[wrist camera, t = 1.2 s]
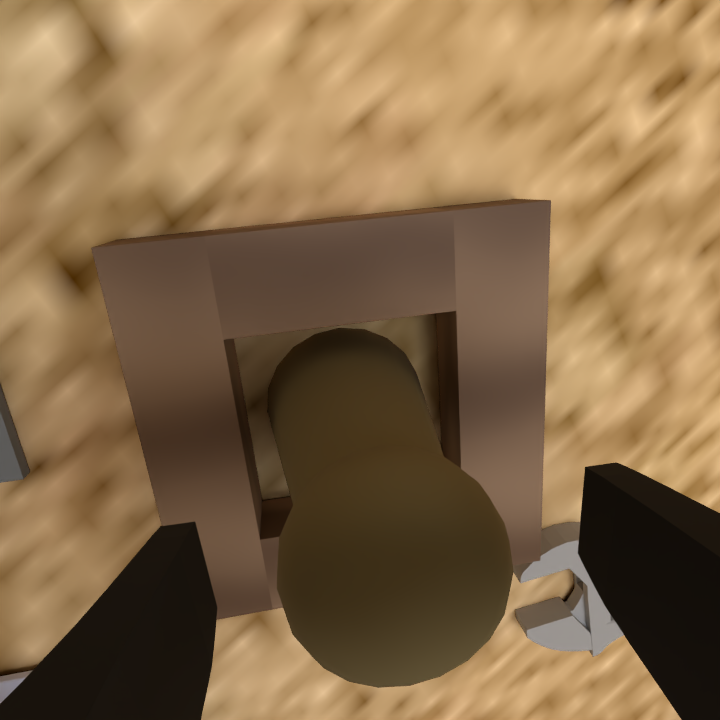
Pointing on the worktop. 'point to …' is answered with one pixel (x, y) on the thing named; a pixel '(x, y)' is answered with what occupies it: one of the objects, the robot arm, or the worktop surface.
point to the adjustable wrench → (582, 609)
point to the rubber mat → (10, 447)
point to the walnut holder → (324, 309)
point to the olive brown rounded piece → (379, 519)
